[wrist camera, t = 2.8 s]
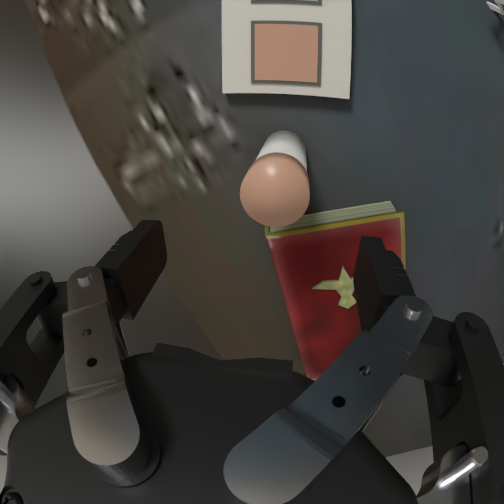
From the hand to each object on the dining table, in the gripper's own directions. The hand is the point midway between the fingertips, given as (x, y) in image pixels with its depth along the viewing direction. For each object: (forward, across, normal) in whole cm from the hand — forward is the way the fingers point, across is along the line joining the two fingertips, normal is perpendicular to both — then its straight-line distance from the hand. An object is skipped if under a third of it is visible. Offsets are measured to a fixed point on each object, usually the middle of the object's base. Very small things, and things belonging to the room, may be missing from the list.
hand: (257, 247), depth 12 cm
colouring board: (+15, 0, -12) cm, 20 cm away
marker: (+16, 0, 0) cm, 16 cm away
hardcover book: (+16, -8, +15) cm, 23 cm away
